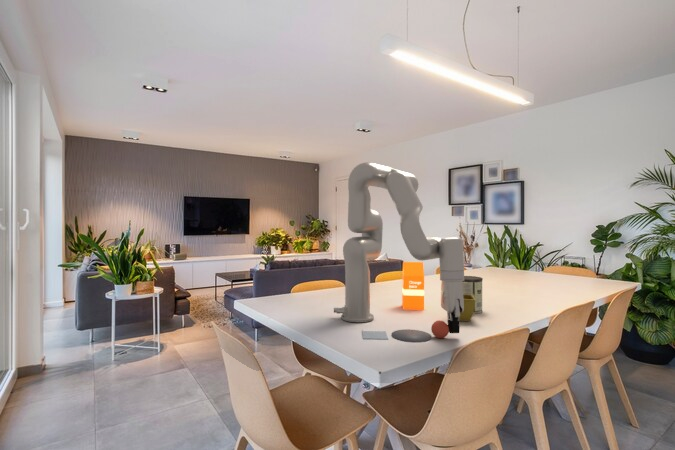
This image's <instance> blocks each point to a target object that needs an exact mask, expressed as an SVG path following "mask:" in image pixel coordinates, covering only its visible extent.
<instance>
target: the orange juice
mask: <svg viewBox="0 0 675 450" xmlns="http://www.w3.org/2000/svg"><path fill="white" fill-rule="evenodd" d="M424 270H425V269H424V262H422V261H403V262H402V274H401V275H402V277H401V278H402V280H401V281H402V287H401V293H402V295H401V299H402V300H401V301H402V303H401V306H402V308H403V309H402V310H415V311H416V310H419V311H421V310H422V311H423V310H425V273H424V272H425V271H424Z"/></svg>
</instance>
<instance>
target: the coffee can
mask: <svg viewBox="0 0 675 450" xmlns="http://www.w3.org/2000/svg"><path fill="white" fill-rule="evenodd" d="M483 279H484V278H483V277H481V276H474V275H473V276H472V275H464V281H462V286H463V295H472V296H473V297H474V298H475V307H474V313H473V314H480V313H483Z"/></svg>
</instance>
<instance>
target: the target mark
mask: <svg viewBox="0 0 675 450" xmlns="http://www.w3.org/2000/svg"><path fill="white" fill-rule="evenodd" d="M390 336H391V337H392V338H393V339H395V340H398V341H402V342H408V343H425V342H428V341H430V340H432V339H433V338H432V337H433V336H432V335H431V334H430V333H428V332H426V331H423V330H418V329H408V328H407V329H397V330H393V331H392V332H391V335H390Z"/></svg>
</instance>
